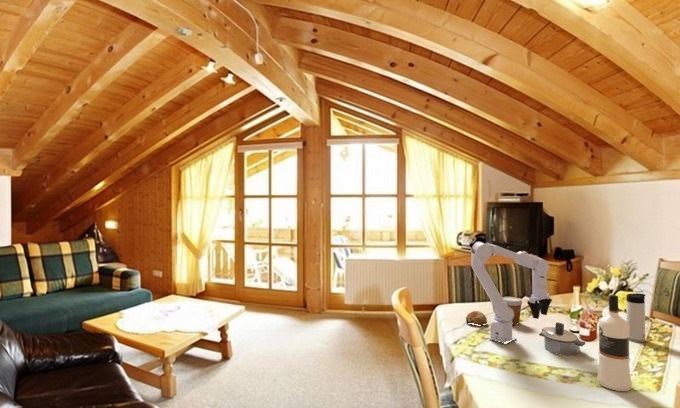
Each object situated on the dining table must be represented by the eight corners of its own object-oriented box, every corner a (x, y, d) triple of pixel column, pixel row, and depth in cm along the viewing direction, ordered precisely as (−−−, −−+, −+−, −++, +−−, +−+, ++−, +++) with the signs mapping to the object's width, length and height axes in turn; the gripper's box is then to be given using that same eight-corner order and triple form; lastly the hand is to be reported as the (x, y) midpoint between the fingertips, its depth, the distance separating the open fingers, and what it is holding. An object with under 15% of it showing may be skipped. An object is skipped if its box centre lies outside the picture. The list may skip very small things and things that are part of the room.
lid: (565, 346, 146) (567, 332, 145) (535, 334, 157) (536, 321, 156) (583, 340, 152) (584, 326, 152) (552, 328, 163) (553, 316, 163)
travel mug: (649, 343, 158) (649, 296, 158) (631, 342, 160) (631, 295, 159) (640, 337, 164) (640, 292, 164) (623, 337, 166) (623, 291, 165)
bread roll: (486, 334, 182) (493, 319, 182) (467, 325, 182) (474, 310, 182) (479, 327, 192) (486, 313, 192) (461, 319, 192) (467, 304, 192)
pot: (578, 359, 144) (577, 346, 144) (534, 347, 156) (534, 335, 156) (589, 351, 151) (589, 338, 151) (547, 340, 164) (547, 328, 164)
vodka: (635, 395, 118) (635, 300, 117) (600, 389, 122) (599, 297, 121) (627, 381, 126) (626, 293, 126) (594, 376, 130) (593, 290, 130)
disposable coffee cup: (520, 327, 180) (520, 302, 180) (499, 323, 186) (499, 299, 186) (524, 322, 188) (524, 298, 188) (504, 318, 194) (504, 295, 194)
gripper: (541, 289, 156) (541, 322, 157) (556, 284, 165) (556, 315, 165) (524, 286, 162) (524, 318, 162) (540, 281, 171) (540, 311, 171)
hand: (539, 316), depth 164 cm, fingers open, 7 cm apart
